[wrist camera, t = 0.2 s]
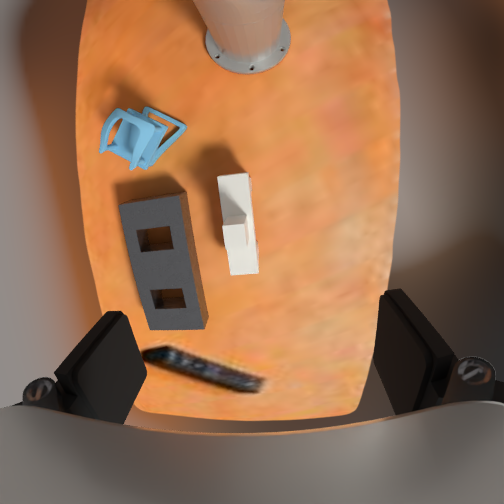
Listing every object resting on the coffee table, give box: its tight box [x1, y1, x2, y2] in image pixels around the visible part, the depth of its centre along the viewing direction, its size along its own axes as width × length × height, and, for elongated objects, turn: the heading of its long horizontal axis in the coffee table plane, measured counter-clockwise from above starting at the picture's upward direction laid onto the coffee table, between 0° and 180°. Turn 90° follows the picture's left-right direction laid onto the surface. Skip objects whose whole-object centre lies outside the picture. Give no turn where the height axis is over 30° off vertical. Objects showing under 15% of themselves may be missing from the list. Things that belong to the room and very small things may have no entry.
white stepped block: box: [217, 172, 259, 275], centre depth 40 cm, size 14×4×10 cm, turn 6°
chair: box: [99, 107, 187, 170], centre depth 36 cm, size 8×8×12 cm
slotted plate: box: [119, 192, 209, 330], centre depth 46 cm, size 22×10×4 cm, turn 6°
